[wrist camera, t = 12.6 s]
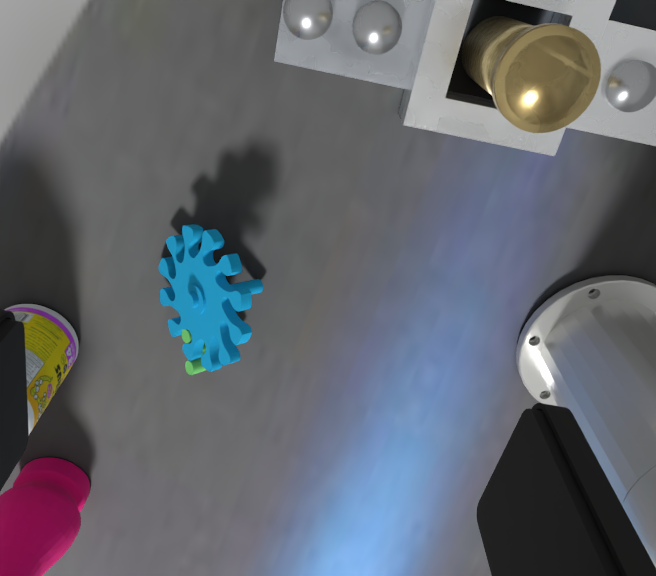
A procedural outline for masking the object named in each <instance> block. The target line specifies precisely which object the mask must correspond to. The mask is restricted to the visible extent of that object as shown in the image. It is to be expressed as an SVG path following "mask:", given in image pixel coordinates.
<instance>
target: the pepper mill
mask: <svg viewBox="0 0 656 576" xmlns="http://www.w3.org/2000/svg"><path fill="white" fill-rule="evenodd" d="M89 493H90V482H89V479H88V477H87V475H86V474H85V473H84V472H83V471H82V470H81V469H80V468H79V467H78V466H76V465H75V464H73V463H71V462H69V461H66V460H63V459H59V458H51V457H44V458H39V459H35V460H33V461H31V462H29V463H27V464H26V465H25V466H24V467H23V469H22V470H21V472H20V474H19V475H18V477H17V479H16V480H15V482H14V484H13V488H11V489H9V490H8V491H6V492H5V493H3V494H2V495H1V496H0V576H42V575H43V574H44V573H45V572H46V571H47V570H48V569H49V568H50V567H51V566H52V565H54V564H55V563H56V562H57V561H58V560H59V559H60V558H61V557H62V556H63V555H64V554H65V552H66V551H67V550H68V549H69V547H70V546H71V545H72V543H73V541H74V539H75V538H76V536H77V534H78V532H79V529H80V525H81V517H80V513H79V512H80V511H81V510H82V508H83V506H84V504H85V502H86V500H87V497H88V495H89Z"/></svg>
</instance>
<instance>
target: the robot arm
mask: <svg viewBox="0 0 656 576" xmlns="http://www.w3.org/2000/svg"><path fill="white" fill-rule="evenodd" d="M516 363H517V367H518V372H519V374H520V376H521V379H522V381H523V383H524V385H525V386H526V388H527V389H528V391H529V392H530V394H531V395H532V396H533V397H534V398H535V399H536V400H538V401H539V402H540V403H537V404H535V405H534V406H533V407H532V409H526V410H525V411H524V412H523V413H522V415H521V417H520V419H519V421H518V423H517V425H516V427H515V429H514V431H513V433H512V435H511V438H510V440H509V442H508V444H507V446H506V448H505V450H504V452H503V454H502V456H501V458H500V460H499V462H498V464H497V466H496V468H495V470H494V472H493V474H492V476H491V478H490V480H489V482H488V484H487V486H486V488H485V490H484V492H483V494H482V497H481V499H480V501H479V503H478V507H477V522H478V526H479V529H480V533H481V537H482V541H483V544H484V548H485V552H486V556H487V559H488V563H489V567H490V570H491V574H492V576H656V285H655V284H653V283H651V282H648V281H646V280H643V279H641V278H636V277H631V276H626V275H608V276H601V277H595V278H590V279H587V280H584V281H581V282H578V283H575V284H573V285H571V286H569V287H567V288H565V289H563V290H561V291H559V292H558V293H556V294H555V295H553V296H552V297H550V298H549V299H548V300H546V301H545V302H544V303H543V304H542V305H541V306H540V307H539V308H538V309H537V310H536V311H535V312H534V313H533V315H532V316H531V317H530V319H529V320H528V321H527V323H526V324H525V326H524V328H523V330H522V332H521V334H520V337H519V341H518V345H517V348H516ZM28 434H29V430H28V404H27V378H26V353H25V329H24V324H23V322H21V321H16V320H15V316H14V314H13V312H11V311H7V310H1V309H0V491H1V489H2V487H3V486H4V484H5V482H6V481H7V479H8V478H9V476H10V474H11V473H12V471H13V469H14V468H15V466H16V464H17V463H18V461H19V459H20V458H21V456H22V454H23V452H24V450H25V448H26V445H27V441H28Z"/></svg>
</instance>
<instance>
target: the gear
mask: <svg viewBox="0 0 656 576" xmlns="http://www.w3.org/2000/svg"><path fill="white" fill-rule="evenodd" d="M182 234H183V235H176V236H171V237H169V238H168V239H167V240H166V243H167V247H168V249H169V251H170V252H171V254H172V257H166V258H162V259H161V261H160V264H159V271H160V273H161V274H162V275H163V276H165V277H166V278H167V279H168V280H169V282H170V284H171V286H172V287H167V288H162V289H161V290H160V302H161V304H162V305H163V306H172V307H174V308H175V309H176V310H177V311H178V312H179V314H180V317H178V318H174V319H170V320H168V326H169V330H170V333H171V336H172V337H175V336H179V335H182V338H183V340H184V342H185V344H184V345H183V352H184V354H185V355H186V357H187V358H188V360H189V361H186V363H185V368H186V371H187V373H188V374H189V375H193V374H196V373H199V372H202V371H205V370H208V371H214V370H217V369H220V368H221V367H222V365H227V364H230V363H233V362H237V361H239V360H240V353H239V351H238V349H237V347H236V346H235V345H239V344H242V343H245V342H247V341H248V340H249V338H250V336H251V334H252V330H251V328H250V326H249V325H248V324H247V323H245V322H243V321H242V320H241V319H240V318H239V316H238V315H237V313H236V311H238V312H239V311H243V310H247V309H250V308H251V303H252V294H256V293H260V292H262V290H263V284H262V282H261V280H259V279H255V280H250V281H245V282H241V283H236V284H231V285H230V284H229V283H228V282H227V280H226V276H230V275H235V274H240V273H241V272H242V265H241V261H240V258H239V256H238V254H237V253H235V254H229V255H224V256H222V257H221V260H220V261H219V263H218V264H216V263H215V261H214V259H213V252H214V250H216V249H221V248H222V247H223V246H224V239H223V237H222V235H221V234H220V233H219V232H218V230H217V229H212V230H205V231H204V232H203V228H202V227H201V226H199V225H195V224H191V225H183V227H182ZM201 240H202V244H201V248H200V251H199V249H198V246H199V243H200V241H201ZM235 310H236V311H235Z"/></svg>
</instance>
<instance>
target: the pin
mask: <svg viewBox="0 0 656 576" xmlns="http://www.w3.org/2000/svg"><path fill="white" fill-rule="evenodd" d="M462 62H463V66H464V69H465V71H466V73H467V74H468V75H469V77H470V78H471V79H473V80H474V81H475V82H476V83H477V84H478V85H480V86H481V87H482V88H483V89H485V90H486V91H487V92H488V93H489V94H491V95H492V97H493V101H494V103H495V105H496V107H497V109H498V111H499V112H500V113H501V114H502V116H503V117H505V118H506V119H507V120H508V121H509V122H510V123H511V124H513V125H514V126H516V127H517V128H519V129H521V130H523V131H527V132H531V133H547V132H552V131H556V130H558V129H561V128H563V127H565V126H567V125H569V124H570V123H572V122H573V121H575V120H576V119H577V118H578V117H579V116H580V115H581V114H582V113H583V112H584V111H585V110H586V109H587V108H588V106H589V105H590V103H591V102H592V100H593V98H594V96H595V94H596V92H597V89H598V86H599V82H600V77H601V63H600V57H599V54H598V51H597V49H596V47H595V45H594V44H593V42H592V41H591V40H590V39H589V38H588V37H587V36H586V35H585V34H584V33H582V32H581V31H579V30H577V29H575V28H572V27H569V26H565V25H562V24H556V23H545V24H539V25H535V26H533V25H530V24H527V23H524V22H521V21H518V20H515V19H512V18H508V17H505V16H494V17H490V18H487V19H485V20H483V21H481V22H480V23H478V24H477V25H476V26H475V27H474V28H473V29H472V30H471V31H470V32H469V34H468V36H467V37H466V39H465V42H464V45H463V49H462Z"/></svg>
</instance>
